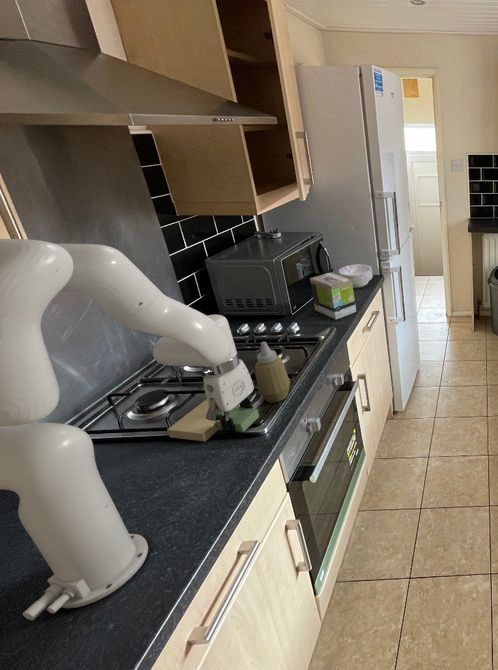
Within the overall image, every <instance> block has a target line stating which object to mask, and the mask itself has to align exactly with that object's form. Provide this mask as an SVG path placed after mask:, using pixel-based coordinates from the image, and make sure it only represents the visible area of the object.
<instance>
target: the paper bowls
mask: <svg viewBox="0 0 498 670" xmlns="http://www.w3.org/2000/svg"><path fill="white" fill-rule="evenodd" d="M337 275H340V276H343V277H346V278H349V279H352V285H353V289H357V288H358V289H359V288H363V287H365V286H367V285H368V284H369V282H370V281H371V280H372V279H373V276H374V275H373V268H372V267H371V266H370V265H367V264H363V263H359V264H357V263H356V264H349V265H345V266H342V267H340V268H339V269H338V271H337Z"/></svg>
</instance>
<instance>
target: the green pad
mask: <svg viewBox="0 0 498 670" xmlns="http://www.w3.org/2000/svg"><path fill="white" fill-rule="evenodd" d="M222 415H224V412H223V411H222ZM230 418H232V419H233V422H234V426H235V431H234V432H239V433H244V432H245V431H246V430H247V429H248V428H249V427H250V426H251V425H252V424H253V423H255V422H256V420H258V419H259V418H260V413H259V411H258V409H257V408H253V409H250V408H240V407H234V408H233V409H232V410H230ZM212 421H217V425H218V428H219V430H221V431H224V430H223V429H222V426H221V423H220V420H212ZM220 427H221V428H220Z"/></svg>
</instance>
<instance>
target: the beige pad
mask: <svg viewBox="0 0 498 670" xmlns="http://www.w3.org/2000/svg"><path fill="white" fill-rule="evenodd" d="M235 407H236V406H235ZM208 408H209V404H208V401H207V398H206V399H204V401H202V402H201V403H200V404H198V405H197V406H196V407H194V408H193V409H192V410H191V411H189V412H188V413H186V414H185V415H184V416H183V417H182V418H180V419H179V420H177V421H176V422H175V423H173V424H172V425H171V426H170V427H168V428H167V429H166V432H167V433H168V436H169V438H172V439H179V440H180V439H181V440H190V441H197V442H198V441H199V442H206V441H208V440H209V439H210V438H211V437H213V435H215V433H217V432H218V431H219V430H220V429H219V428H218V427H217V426H218V425H217V421H212V419H206V418H205V417H206V414H207V411H208ZM215 414H216V413H215Z"/></svg>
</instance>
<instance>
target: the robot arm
mask: <svg viewBox="0 0 498 670" xmlns="http://www.w3.org/2000/svg"><path fill="white" fill-rule="evenodd" d="M60 292H61V293H63V292H64V293H79V294H82V295H83V296H85V297H86V298H87V299H89V300H90V302H93V303H94V304H95V305H96V306H97V307H98V308H99V309H101V310H102V311H104V312H105V313H106V314H107V315H108V316H110V317H111V318H112V319H113V320H115V321H116V322H117V323H118V324H120V325H121V326H123V327H125V328H128V329H130V330H134V331H137V332H141V333H145V334H149V335H155V336H159V337H160V338H158V339H157V341H156V342H155V343H154V344H153V348H152V357H153V358H154V360H155V361H156V362H157V363H159V364H161V365H163V366H168V367H201V368H202V371H201V372H200V375H201V376H202V377H203V388H204V393H205V398H206V399H207V401H208V404H209V408H208V411H207V414H206V417H205V418H206V419H212V420H220V423H221V426H222V429H223V430H222V431H224V432H231V433H235V432H236V431H235V426H234V422H233V419H232V418H230V410H232V409H233V408H234V407H235V406H237V405H238V404H240V408H250V409H254V406H253V403H252V400H253V391H254V390H255V389H254V388H255V384H256V380H255V379H252V377H251V373H249V370H248V368H247V365H246V364H245V362H244V361H243V360H242V359H240V358H239V355H238V351H237V347H236V344H235V340H234V338H233V333H232V330H231V328H230V325H229V320H228V319H227V318H226V316H224V315H221V314H209V315H207V314H205V313H202V312H201V311H199V310H197V309H194V308H192V307H191V306H188V305H186V304H184V303H182V302H181V301H178V300H176V299H174V298H171V297H169V296H167V295H166V294H164V293H163V292H162V291H161V290H160V289H159V287H157V286H156V285H155V284H154V283H153V281H151V279H149V278H148V277H147V276H146V274H144V273H143V271H141V269H139V268H138V266H136V265H135V263H133V262H132V261H131V260H130V259H129V258H128V256H126V255H125V254H124V253H122V251H120V250H118V249H117V248H115V247H112V246H109V245H104V244H97V243H96V244H95V243H54V242H49V241H45V240H40V239H39V240H38V239H27V238H0V490H4V491H12V492H14V493H15V494H17V496H18V498H19V504H18V508H17V514H18V518H19V521H20V523H21V524H22V526H23V528H24V529H25V531H26V532H27V533H28V535H29V536H30V538H31V540H32V541H33V543H34V544H35V546H36V548H37V550H38V551H39V553H40V554H41V556H42V557H43V559H44V560H45V563H47V565H48V567H49V568H50V570H51V571H52V573H53V575H51V576H50V577H49V578H48V579H47V583H48V584H49V585H50V586H48V588H46V589H45V590H44V594H43V595H42V596H41V597H40V598H39V599H38V600H36V601H34V602H33V603H32V604H31V605H30V606H29V607H28V608H27V609H26V610H25V611H23V612H22V616H23V617H24V618H26V619H27V620H29V621H35V620H36V618H38V617H39V616H40V615H41V614H42V613H43V612H44V611H45V610H46V611H47V612H48V613H50V614H55V613H56V612H57V611H59V610H60V608H63V609H75V608H80V607H84V606H87V605H90V604H92V603H96V602H98V601H99V600H102V599H103V598H105V597H107V596H109V595H110V594H112V593H114V592H115V591H117V590H118V589H119V588H121V587H122V586H123V585H125V584H126V583H127V582H128V581H129V580H130V579H131V578H132V577H133V576H134V575H135V574H136V573H137V572H138V571H139V569H140V568H141V567H142V566H143V564H144V562H145V561H146V558H147V556H148V553H149V545H148V542H147V539H146V538H145V537H144V536H142V535H140V534H137V533H129V531H128V529H127V527H126V525H125V523H124V521H123V519H122V517H121V515H120V512H119V511H118V509H117V507H116V505H115V503H114V501H113V498H112V497H111V495H110V493H109V491H108V489H107V487H106V486H105V484H104V481H103V479H102V478H101V477H102V476H101V475H100V472H99V470H98V467H97V463H96V456H95V448H94V443H93V440H92V438H91V436H90V435H89V434H88V433H87V432H86V431H85V430H83V429H82V428H80V427H78V426H74V425H71V424H67V423H59V422H39V421H41V420H43V419H44V418H46V417H48V416H49V415H50V414H52V413H53V412H54V410H55V409H56V408H57V406H58V404H59V402H60V393H61V391H60V387H59V384H58V380H57V376H56V373H55V371H54V368H53V365H52V362H51V359H50V355H49V353H48V350H47V347H46V345H45V340H44V337H43V332H42V325H41V323H42V318H43V315H44V313H45V310H46V309H47V307H48V305H49V304H50V303H51V302H52V300H53V299H54V298H55V297H56V296H57V295H58V294H59V293H60ZM222 411H223V412H224V415H222ZM215 413H216V414H215Z"/></svg>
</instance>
